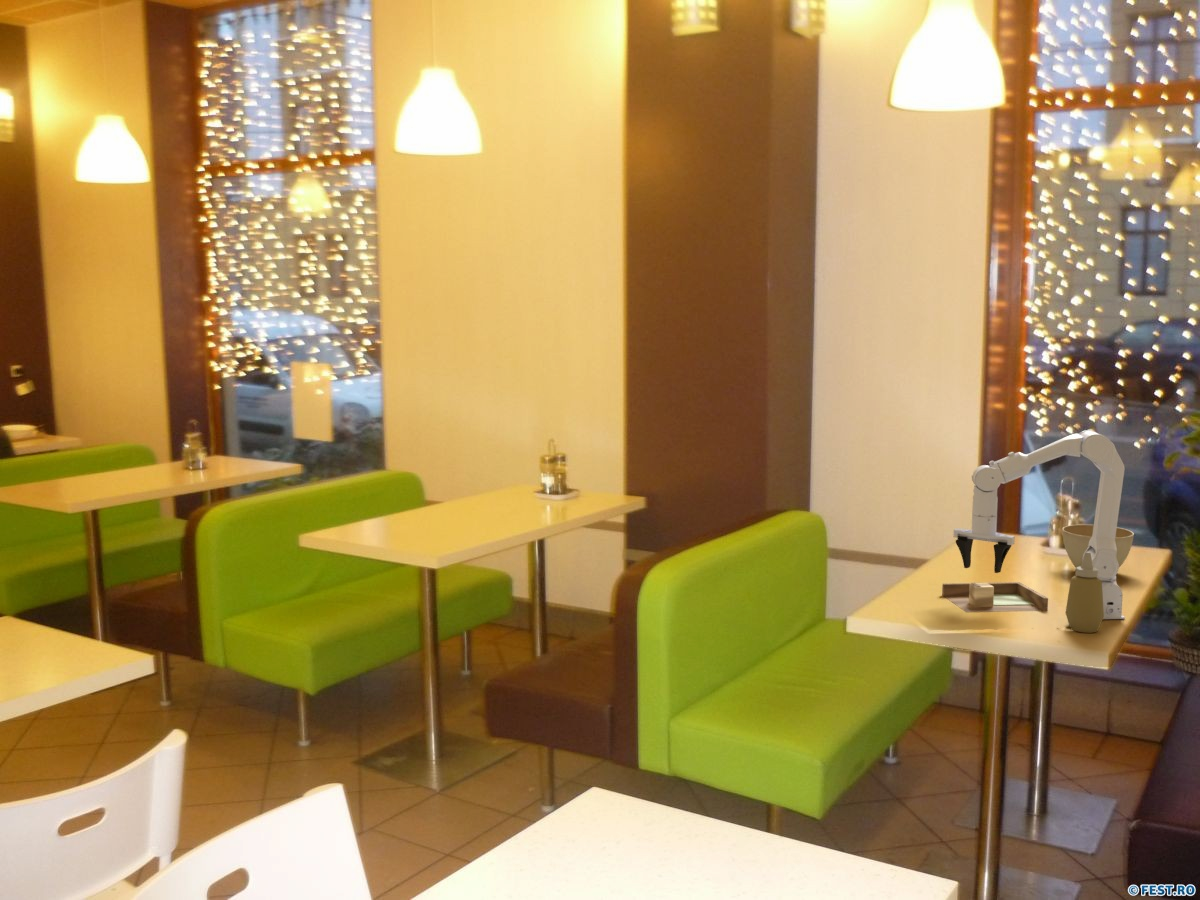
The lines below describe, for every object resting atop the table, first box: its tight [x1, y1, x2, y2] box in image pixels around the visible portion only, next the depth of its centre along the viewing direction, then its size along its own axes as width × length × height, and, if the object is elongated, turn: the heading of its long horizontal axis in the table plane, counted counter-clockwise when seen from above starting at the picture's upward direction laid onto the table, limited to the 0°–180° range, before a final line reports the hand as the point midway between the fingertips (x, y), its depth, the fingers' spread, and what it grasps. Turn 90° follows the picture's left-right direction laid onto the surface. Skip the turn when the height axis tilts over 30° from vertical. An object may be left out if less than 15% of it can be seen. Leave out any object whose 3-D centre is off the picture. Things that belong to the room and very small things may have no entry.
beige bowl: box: [1062, 524, 1135, 569], centre depth 312 cm, size 18×18×12 cm
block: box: [969, 582, 994, 607], centre depth 277 cm, size 4×4×5 cm
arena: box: [941, 581, 1049, 613], centre depth 279 cm, size 16×20×4 cm
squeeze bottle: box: [1065, 552, 1104, 633], centre depth 257 cm, size 8×8×18 cm
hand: (982, 569), depth 276 cm, fingers open, 7 cm apart
